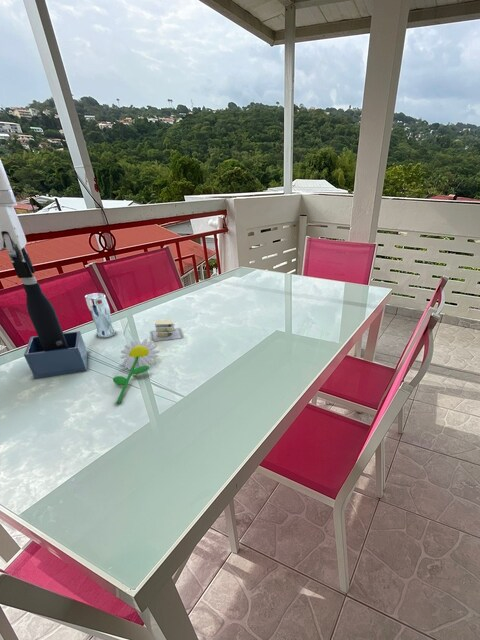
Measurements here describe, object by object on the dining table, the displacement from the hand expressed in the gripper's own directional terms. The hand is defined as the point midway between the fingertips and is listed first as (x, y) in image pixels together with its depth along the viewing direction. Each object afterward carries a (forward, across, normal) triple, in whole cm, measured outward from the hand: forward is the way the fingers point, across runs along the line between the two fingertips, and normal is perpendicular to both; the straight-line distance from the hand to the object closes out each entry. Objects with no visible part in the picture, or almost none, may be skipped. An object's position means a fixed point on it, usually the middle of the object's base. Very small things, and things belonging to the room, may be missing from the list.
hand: (26, 274), depth 91 cm
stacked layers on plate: (+28, -13, +34) cm, 46 cm away
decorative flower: (+28, +16, +20) cm, 38 cm away
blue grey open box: (+28, 0, 0) cm, 28 cm away
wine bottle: (+25, 0, 0) cm, 25 cm away
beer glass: (+28, -21, +13) cm, 38 cm away
